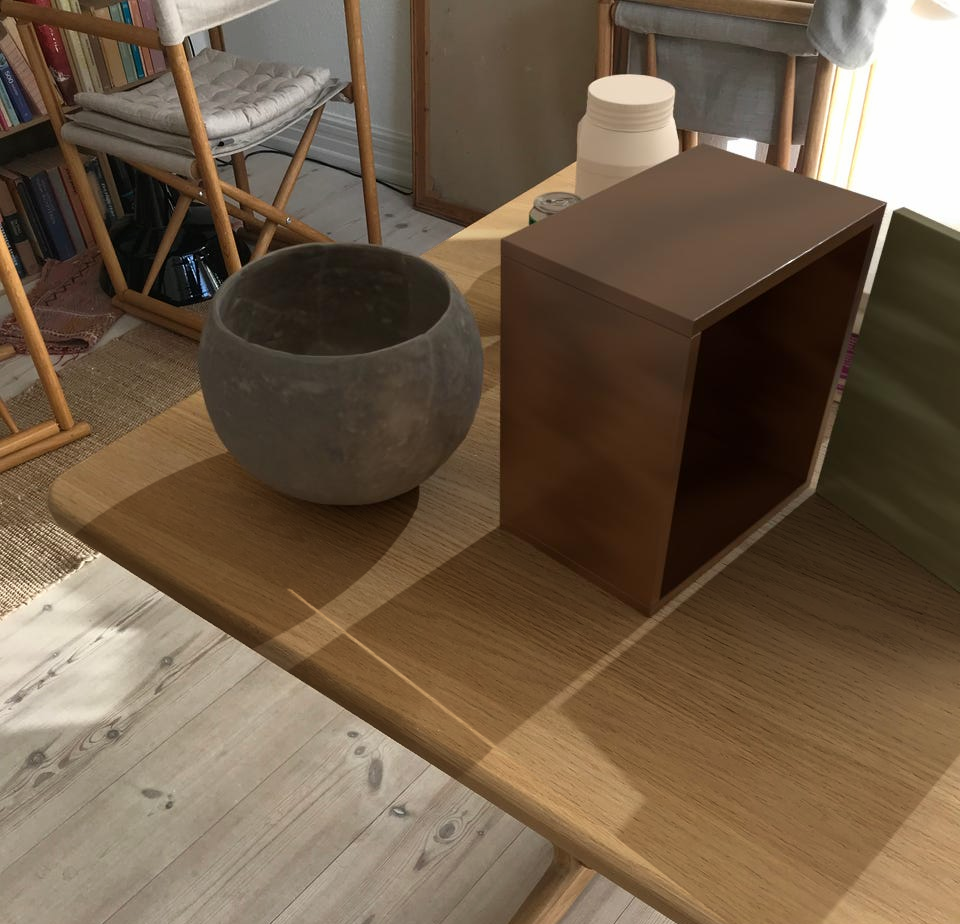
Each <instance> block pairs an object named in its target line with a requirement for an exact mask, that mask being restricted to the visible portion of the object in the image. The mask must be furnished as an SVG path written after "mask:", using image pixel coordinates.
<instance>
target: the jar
mask: <svg viewBox="0 0 960 924" xmlns="http://www.w3.org/2000/svg"><path fill="white" fill-rule="evenodd" d="M586 96H587V99H586V105H587V106H586V111H585V114H584V116H583V117H582V118H581V119H580V120H579V122H578V123H577V130H576V131H577V134H576V162H575V163H576V164H575V183H574V194H576V195H578V196H580V197H581V198H582V199H583V200H584V199H586V198H588V197H590V196H592V195H594V194H596V193H598V192H600V191H602V190H605V189H607V188H609V187H611V186H613V185H615V184H617V183H619V182H621V181H623V180H626V179H628V178H630V177H632V176H634V175H636V174H638V173H640V172H642V171H644V170H647V169H649V168H651V167H653V166H655V165H657V164H659V163H661V162H663V161H665V160H668V159H670V158H672V157H674V156H676V155H678V154H680V152H679V151H680V140H679V137H678V132H677V131H678V130H677V126H676V121H675V118H674V107H675V106H674V104H675V96H676V89H675V87H674V86H673V84H671V83H670V82H669V81H666V80H664V79H661V78H659V77H655V76H651V75H644V74H630V73H629V74H628V73H627V74H613V75H607V76H603V77H601V78H598V79H596V80H594V81H593V82H591V83H590V84H589V85H588V87H587V95H586Z"/></svg>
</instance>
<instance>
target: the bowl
mask: <svg viewBox="0 0 960 924" xmlns="http://www.w3.org/2000/svg"><path fill="white" fill-rule="evenodd" d="M483 351H484V349H483V343H482V338H481V335H480V329H479V326H478V323H477V321H476V318H475V315H474V312H473V311H472V309H471V307H470V305H469V303H468V302H467V300H466V298H465V297H464V295H463V293H462V291H461V290H460V289H459V287H458V286H457V285H456V283H455V282H454V280H452V279H451V278H450V276H449V275H448V274H447V273H446V272H445V271H443V270H442V269H441V268H439V267H438V266H436V265H435V264H434V263H432V262H430V261H429V260H426V259H425V258H423V257H420V256H418V255H415V254H414V253H410V252H408V251H404V250H401V249H398V248H395V247H392V246H387V245H381V244H375V243H366V242H350V241H329V242H327V241H326V242H325V241H323V242H321V241H320V242H307V243H306V242H305V243H300V244H296V245H291V246H286V247H283V248H280V249H279V248H278V249H277V250H273V251H271V252H268V253H265V254H263V255H260V256H258V257H256V258H255V259H253V260H251V261H250V262H248V263H246V264H245V265H243V266H242V267H240V268H239V269H238V270H236V271H234V273H232V274H231V275H230V276H229V277H227V278H226V279H225V280H224V281H223V282H222V283H221V285H219V287H218V288H217V289H216V291H215V293H214V294H213V297H212V299H211V300H210V303H209V306H208V308H207V311H206V313H205V317H204V321H203V324H202V329H201V333H200V339H199V345H198V351H197V353H198V354H197V367H198V378H199V385H200V389H201V393H202V397H203V401H204V406H205V408H206V412H207V414H208V417H209V419H210V421H211V424H212V426H213V428H214V431H215V433H216V434H217V437H218V438H219V440H220V441H221V443H222V445H223V446H224V447H225V449H226V450H227V452H228V453H229V454H230V456H232V458H234V459H235V460H236V462H237V463H238V464H239V465H240V466H241V467H242V468H243V469H245V470H246V471H247V472H248V473H249V474H250V475H252V476H253V477H254V478H256V479H257V480H258V481H260V482H262V483H264V484H266V485H267V486H269V487H270V488H272V489H274V490H276V491H278V492H280V493H283V494H284V495H288V496H291V497H293V498H295V499H298V500H302V501H306V502H310V503H314V504H321V505H333V506H334V505H335V506H336V505H337V506H364V505H372V504H376V503H381V502H384V501H387V500H390V499H393V498H396V497H398V496H400V495H403V494H405V493H408V492H410V491H411V490H414V489H415V488H416V487H418V486H420V485H422V484H423V483H425V482H426V481H427V480H429V479H430V478H431V477H432V476H433V475H434V474H435V473H436V472H437V471H438V470H439V469H440V468H441V467H442V466H444V464H445V463H447V461H448V460H449V458H451V457H452V455H454V453H455V451H456V450H457V449H458V447H460V445H461V444H463V442H464V441H465V440H466V438H467V436H468V434H469V432H470V430H471V428H472V426H473V423H474V421H475V418H476V415H477V413H478V408H479V405H480V402H481V398H482V390H483V382H484V370H485V369H484V368H485V367H484V366H485V364H484V363H485V361H484V352H483Z"/></svg>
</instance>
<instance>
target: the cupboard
mask: <svg viewBox="0 0 960 924" xmlns="http://www.w3.org/2000/svg"><path fill="white" fill-rule="evenodd" d="M887 207H888V202H887V201H884V200H881V199H877V198H874V197H871V196H869V195H866V194H862V193H859V192H857V191H852V190H849V189H846V188H844V187H841V186H837V185H835V184H831V183H828V182H826V181H822V180H818V179H815V178H813V177H810V176H806V175H803V174H800V173H798V172H794V171H791V170H789V169H785V168H781V167H778V166H775V165H772V164H769V163H766V162H763V161H760V160H757V159H753V158H751V157H748V156H744V155H741V154H738V153H735V152H732V151H728V150H726V149H724V148H719V147H717V146H713V145H711V144H708V143H704V142H702V143H699V144H697V145H695V146H693V147H691V148H689V149H687V150H685V151H683V152H679V154H678V155H676V156H674V157H672V158H670V159H668V160H665V161H663V162H661V163H659V164H657V165H655V166H653V167H651V168H649V169H647V170H644V171H642V172H640V173H638V174H636V175H634V176H632V177H630V178H628V179H626V180H623V181H621V182H619V183H617V184H615V185H613V186H611V187H609V188H607V189H605V190H602V191H600V192H598V193H596V194H594V195H592V196H590V197H588V198H586V199H584V200H581V201H579V202H577V203H575V204H573V205H571V206H569V207H567V208H565V209H563V210H560V211H558V212H556V213H554V214H552V215H550V216H548V217H546V218H544V219H542V220H539V221H537V222H535V223H533V224H531V225H529V224H528V225H527V226H525V227H523V228H521V229H519V230H516V231H514V232H512V233H510V234H507V235H506V236H504V237H502V238H500V290H499V291H500V293H499V294H500V298H499V299H500V300H499V301H500V306H499V307H500V308H499V309H500V310H499V311H500V313H499V314H500V315H499V319H500V320H499V321H500V323H499V328H500V329H499V334H500V335H499V343H500V344H499V360H500V361H499V367H500V368H499V527H501V529H504V530H505V531H507V532H508V533H510V534H512V535H513V536H515V537H517V538H518V539H520V540H522V541H523V542H524V543H526V544H528V545H530V546H532V547H533V548H534V549H536V550H537V551H539V552H541V553H542V554H544V555H546V556H547V557H549V558H551V560H554V561H555V562H557V563H558V564H560V565H561V566H564V567H565V568H566V569H568V570H569V571H572V572H573V573H574V574H577V575H578V576H580V577H581V578H583V579H585V580H586V581H588V582H589V583H591V584H593V585H594V586H596V587H597V588H599V589H601V590H602V591H604V592H606V593H607V594H609V595H611V596H612V597H614V598H615V599H617V600H619V601H620V602H621V603H623V604H625V605H627V606H629V607H630V608H632V610H635V611H636V612H638V613H639V614H641V615H643V616H645V617H646V618H651V617H652V616H653V615H655V614H656V613H657V612H658V611H660V610H661V609H662V608H664V606H665V605H667V604H668V603H669V602H671V601H672V600H673V599H674V598H675V597H677V596H678V595H679V594H680V593H682V592H683V591H684V590H685V589H687V588H688V587H689V586H690V585H691V584H692V583H694V582H695V581H696V580H697V579H699V578H700V577H701V576H702V575H703V574H705V573H706V572H707V571H709V570H710V569H711V568H712V567H713V566H714V565H716V564H717V563H718V562H720V561H721V560H722V559H723V558H725V556H727V555H728V554H730V552H732V551H733V550H734V549H736V548H737V547H738V546H739V545H740V544H741V543H743V542H744V541H745V540H746V539H748V538H749V537H751V535H752V534H754V533H755V532H756V531H757V530H759V529H760V528H761V527H762V526H764V525H765V524H766V523H767V522H768V521H769V520H771V519H772V518H774V517H775V516H776V515H777V514H778V513H780V512H781V511H782V510H783V509H784V508H785V507H787V506H788V505H789V504H791V503H792V502H793V501H794V500H795V499H797V498H798V497H799V496H800V495H801V494H803V493H804V492H805V491H806V490H808V489H809V488H810V486H811V483H812V480H813V477H814V473H815V470H816V465H817V462H818V459H819V455H820V451H821V448H822V444H823V440H824V436H825V432H826V429H827V425H828V422H829V418H830V415H831V412H832V411H831V410H832V407H833V404H834V396H835V393H836V389H837V385H838V382H839V378H840V374H841V371H842V367H843V363H844V360H845V356H846V352H847V349H848V345H849V341H850V338H851V334H852V330H853V327H854V323H855V319H856V316H857V312H858V308H859V305H860V301H861V297H862V294H863V290H864V286H865V283H866V279H867V275H868V273H870V272H869V271H870V268H871V264H872V260H873V257H874V252H875V249H876V245H877V242H878V238H879V235H880V231H881V227H882V224H883V220H884V217H885V213H886V209H887Z"/></svg>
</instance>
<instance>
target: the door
mask: <svg viewBox="0 0 960 924" xmlns="http://www.w3.org/2000/svg"><path fill="white" fill-rule="evenodd" d="M876 266H877V268H876V270H875V273H876V274H875V277H874V281H873V284H872V288H871V292H870V295H869V299H868V302H867V306H866V310H865V313H864V317H863V320H862V324H861V328H860V331H859V335H858V338H857V342H856V346H855V349H854V353H853V356H852V360H851V364H850V367H849V371H848V374H847V378H846V381H845V385H844V389H843V392H842V396H841V399H840V402H838V403H839V404H838V408H837V410H836V414H835V417H834V421H833V425H832V428H831V432H830V435H829V439H828V442H827V447H826V450H825V454H824V457H823V462H822V465H821V469H820V472H819V475H818V478H817V482H816V487H815V489H814V493H816V494H817V495H818V496H819V497H821V498H823V499H824V500H825V501H827V502H829V503H830V504H831V505H833V506H834V507H836V508H837V509H839V510H840V511H841V512H843V513H844V514H846V515H848V517H850V518H851V519H853V520H854V521H856V522H857V523H859V524H860V525H861V526H863V527H864V528H866V529H867V530H868V531H870V532H871V533H873V534H874V535H876V536H877V537H879V538H880V539H882V540H883V541H884V542H885V543H888V545H890V546H892V547H893V548H894V549H896V550H897V551H899V552H900V553H902V554H903V555H904V556H906V557H908V558H909V559H910V560H912V561H913V562H914V563H916V564H918V565H919V566H920V567H922V568H923V569H924V570H927V571H928V572H929V573H930V574H931V575H933V576H935V577H936V578H937V579H939V580H940V581H942V582H944V583H945V584H946V585H948V586H949V587H951V588H952V589H953V590H955V591H956V592H958V593H959V594H960V231H959V230H957V229H954V228H952V227H950V226H948V225H946V224H943V223H941V222H938V221H936V220H934V219H932V218H930V217H927V216H925V215H923V214H920V213H918V212H916V211H915V210H912V209H909V208H907V207H905V206H902V207H899V208H897V209H894V210H892V214H891V215H890V220H889V224H888V227H887V230H886V234H885V238H884V241H883V245H882V248H881V251H880V256H879V259H878V263H877V265H876Z"/></svg>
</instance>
